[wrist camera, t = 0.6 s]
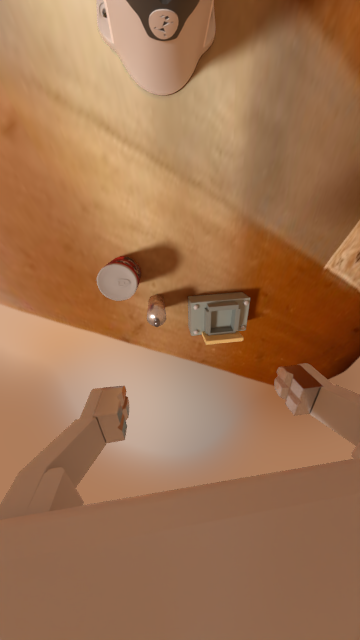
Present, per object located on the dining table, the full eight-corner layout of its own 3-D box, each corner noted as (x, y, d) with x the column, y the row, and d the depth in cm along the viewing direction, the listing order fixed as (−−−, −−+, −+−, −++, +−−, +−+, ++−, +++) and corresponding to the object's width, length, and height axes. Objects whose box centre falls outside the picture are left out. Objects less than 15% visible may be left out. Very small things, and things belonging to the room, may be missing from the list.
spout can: (147, 295, 50) (145, 312, 40) (163, 294, 50) (165, 311, 40) (149, 310, 52) (147, 330, 42) (164, 308, 52) (167, 328, 42)
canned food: (146, 280, 48) (143, 293, 38) (118, 290, 48) (108, 306, 38) (133, 250, 44) (126, 257, 34) (103, 262, 45) (88, 272, 35)
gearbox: (188, 296, 51) (194, 310, 42) (242, 291, 53) (259, 305, 44) (188, 327, 56) (194, 345, 47) (238, 322, 57) (253, 339, 48)
